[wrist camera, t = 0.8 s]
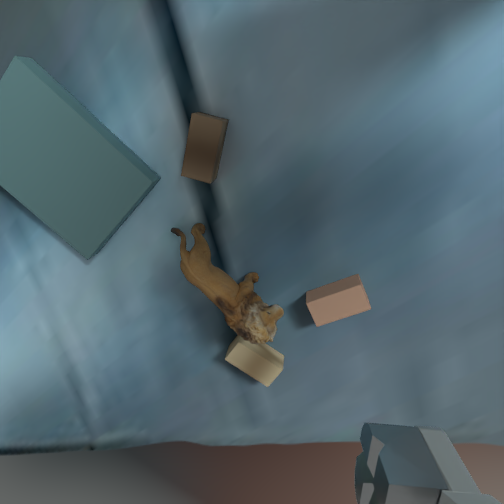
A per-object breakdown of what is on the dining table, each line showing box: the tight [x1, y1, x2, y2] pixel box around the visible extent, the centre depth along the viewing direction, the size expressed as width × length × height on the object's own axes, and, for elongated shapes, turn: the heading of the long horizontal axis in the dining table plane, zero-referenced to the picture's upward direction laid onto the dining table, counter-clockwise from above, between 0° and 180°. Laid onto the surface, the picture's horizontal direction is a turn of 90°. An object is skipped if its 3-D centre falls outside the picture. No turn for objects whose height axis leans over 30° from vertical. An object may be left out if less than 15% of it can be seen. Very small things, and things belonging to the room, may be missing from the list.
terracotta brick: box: [306, 274, 371, 327], centre depth 45 cm, size 6×3×3 cm, turn 115°
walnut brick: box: [181, 112, 228, 184], centre depth 41 cm, size 6×3×3 cm, turn 166°
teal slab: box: [0, 56, 160, 260], centre depth 43 cm, size 12×17×2 cm
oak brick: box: [225, 335, 284, 387], centre depth 49 cm, size 6×3×3 cm, turn 56°
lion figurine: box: [171, 223, 284, 345], centre depth 42 cm, size 15×5×9 cm, turn 55°
